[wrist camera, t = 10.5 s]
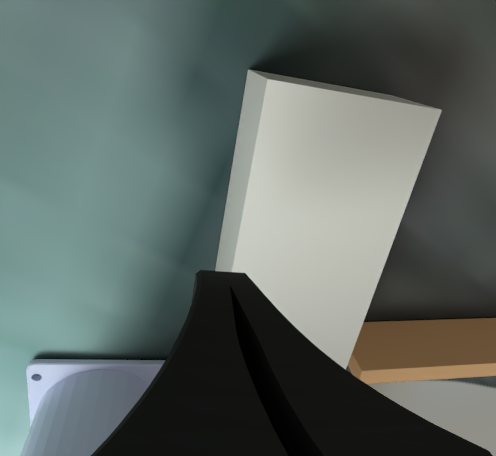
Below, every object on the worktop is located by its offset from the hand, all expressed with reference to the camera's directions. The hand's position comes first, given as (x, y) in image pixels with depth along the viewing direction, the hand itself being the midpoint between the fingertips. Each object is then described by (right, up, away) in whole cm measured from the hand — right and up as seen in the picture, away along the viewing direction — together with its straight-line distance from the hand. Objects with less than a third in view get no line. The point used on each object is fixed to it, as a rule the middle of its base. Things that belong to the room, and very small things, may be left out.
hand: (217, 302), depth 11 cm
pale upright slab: (+3, +2, +10) cm, 11 cm away
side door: (+13, -4, +15) cm, 20 cm away
